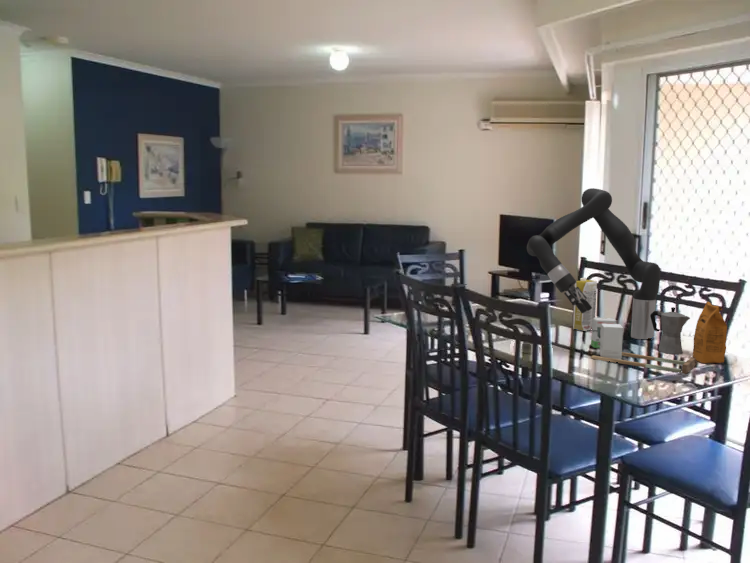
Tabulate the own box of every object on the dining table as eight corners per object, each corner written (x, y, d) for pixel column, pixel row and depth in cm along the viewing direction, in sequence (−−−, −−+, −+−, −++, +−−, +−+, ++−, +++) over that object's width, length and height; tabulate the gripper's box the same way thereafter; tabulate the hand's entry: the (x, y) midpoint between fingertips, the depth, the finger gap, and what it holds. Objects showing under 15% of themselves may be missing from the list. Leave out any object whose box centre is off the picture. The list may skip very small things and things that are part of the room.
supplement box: (621, 360, 258) (623, 327, 256) (601, 359, 260) (603, 326, 258) (618, 355, 265) (620, 323, 264) (599, 354, 267) (600, 322, 265)
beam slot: (603, 351, 271) (603, 344, 270) (695, 365, 250) (695, 357, 250) (591, 358, 260) (591, 350, 260) (686, 373, 240) (686, 365, 239)
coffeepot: (691, 352, 270) (694, 308, 268) (682, 356, 264) (685, 311, 261) (653, 345, 281) (655, 303, 279) (643, 349, 275) (646, 305, 272)
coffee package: (715, 357, 264) (720, 301, 260) (727, 365, 251) (732, 307, 248) (688, 355, 265) (692, 300, 262) (699, 364, 253) (703, 306, 250)
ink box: (593, 348, 277) (594, 319, 275) (590, 345, 282) (592, 317, 280) (615, 348, 276) (616, 320, 275) (611, 345, 281) (613, 317, 280)
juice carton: (582, 327, 317) (584, 276, 314) (597, 329, 311) (599, 278, 308) (570, 329, 311) (572, 278, 308) (585, 332, 305) (587, 279, 302)
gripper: (564, 273, 262) (590, 307, 258) (573, 271, 274) (599, 303, 270) (549, 285, 265) (575, 318, 261) (559, 282, 277) (584, 314, 273)
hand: (587, 310), depth 265 cm, fingers open, 8 cm apart
